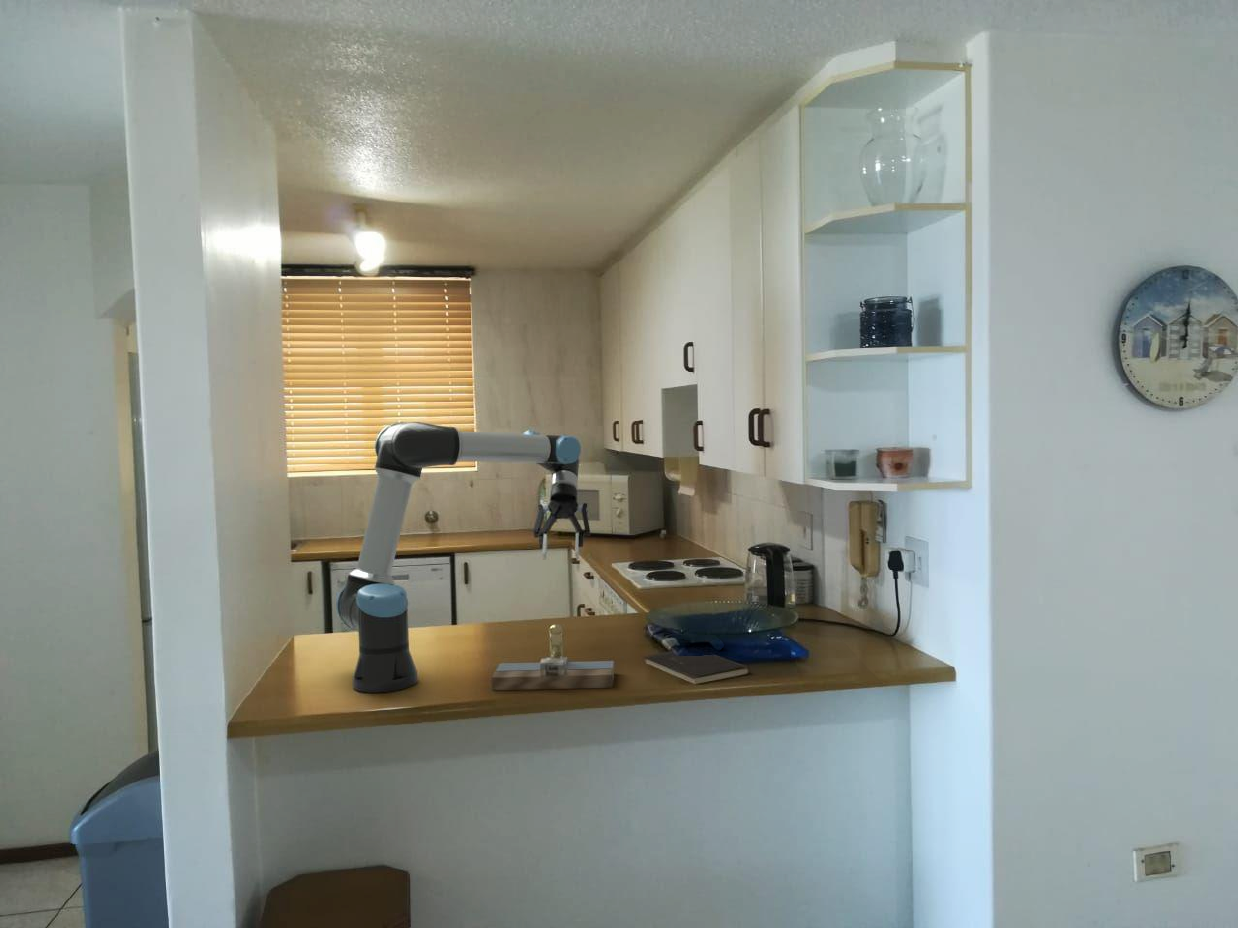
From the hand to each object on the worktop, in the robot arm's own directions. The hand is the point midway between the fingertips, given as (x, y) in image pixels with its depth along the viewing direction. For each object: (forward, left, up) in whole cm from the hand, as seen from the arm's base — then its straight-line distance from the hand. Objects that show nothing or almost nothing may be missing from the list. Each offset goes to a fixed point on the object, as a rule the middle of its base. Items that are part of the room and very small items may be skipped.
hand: (560, 555), depth 233 cm
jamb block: (0, -27, -27) cm, 38 cm away
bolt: (0, -20, -23) cm, 31 cm away
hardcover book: (+34, -15, -27) cm, 46 cm away
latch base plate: (0, -21, -27) cm, 34 cm away
